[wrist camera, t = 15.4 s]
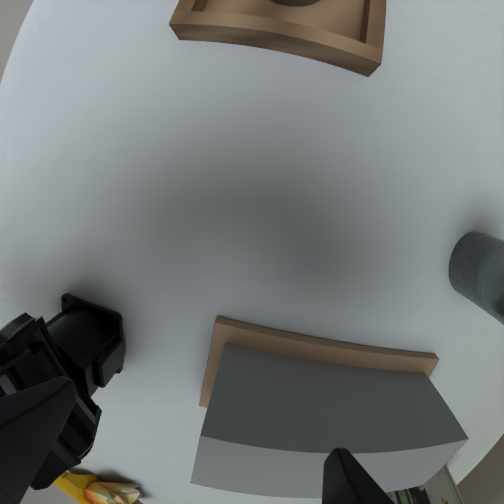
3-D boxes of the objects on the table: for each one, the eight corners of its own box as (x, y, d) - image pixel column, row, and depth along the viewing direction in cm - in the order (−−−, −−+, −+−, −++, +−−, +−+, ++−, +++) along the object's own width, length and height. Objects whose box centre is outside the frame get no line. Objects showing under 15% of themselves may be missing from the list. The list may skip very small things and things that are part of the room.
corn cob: (64, 454, 35) (149, 482, 29) (77, 483, 33) (164, 516, 27) (36, 462, 28) (116, 503, 22) (50, 493, 26) (136, 539, 19)
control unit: (201, 398, 23) (174, 486, 13) (217, 316, 20) (182, 411, 11) (392, 421, 23) (421, 491, 13) (434, 353, 20) (488, 422, 11)
